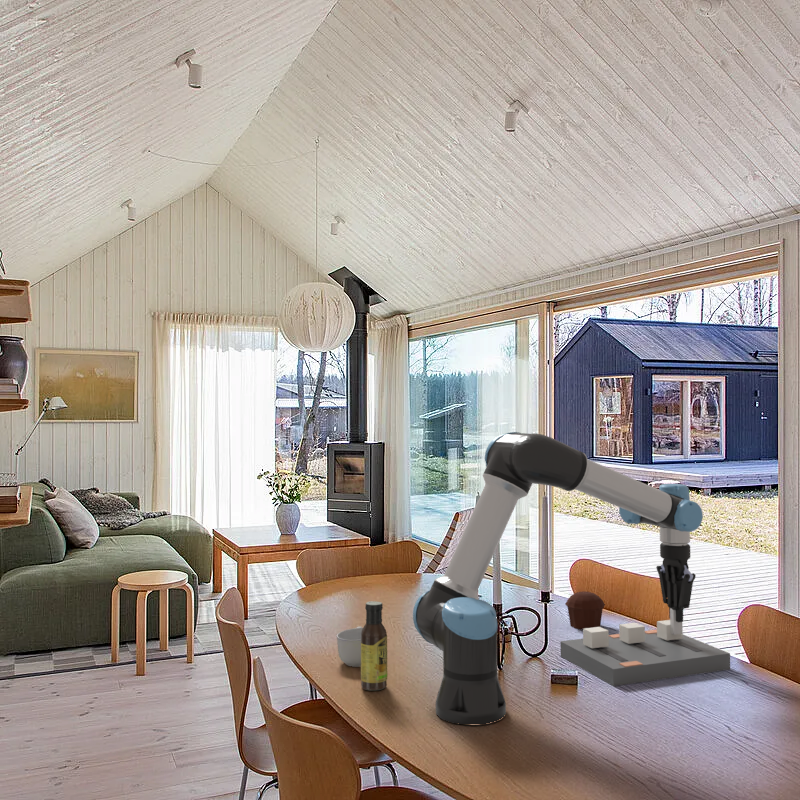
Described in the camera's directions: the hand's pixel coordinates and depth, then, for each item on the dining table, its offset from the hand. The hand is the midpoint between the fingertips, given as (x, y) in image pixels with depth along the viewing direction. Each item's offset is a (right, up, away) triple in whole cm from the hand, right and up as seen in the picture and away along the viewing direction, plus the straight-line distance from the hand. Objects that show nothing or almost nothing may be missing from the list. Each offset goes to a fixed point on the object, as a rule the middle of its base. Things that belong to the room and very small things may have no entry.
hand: (676, 633), depth 207 cm
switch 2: (-1, -2, +3) cm, 3 cm away
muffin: (-17, -7, +30) cm, 35 cm away
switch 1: (-22, -2, -4) cm, 22 cm away
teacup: (-83, -7, -1) cm, 84 cm away
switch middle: (-12, -2, 0) cm, 12 cm away
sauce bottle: (-79, -7, -21) cm, 81 cm away
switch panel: (-10, -6, -4) cm, 13 cm away
